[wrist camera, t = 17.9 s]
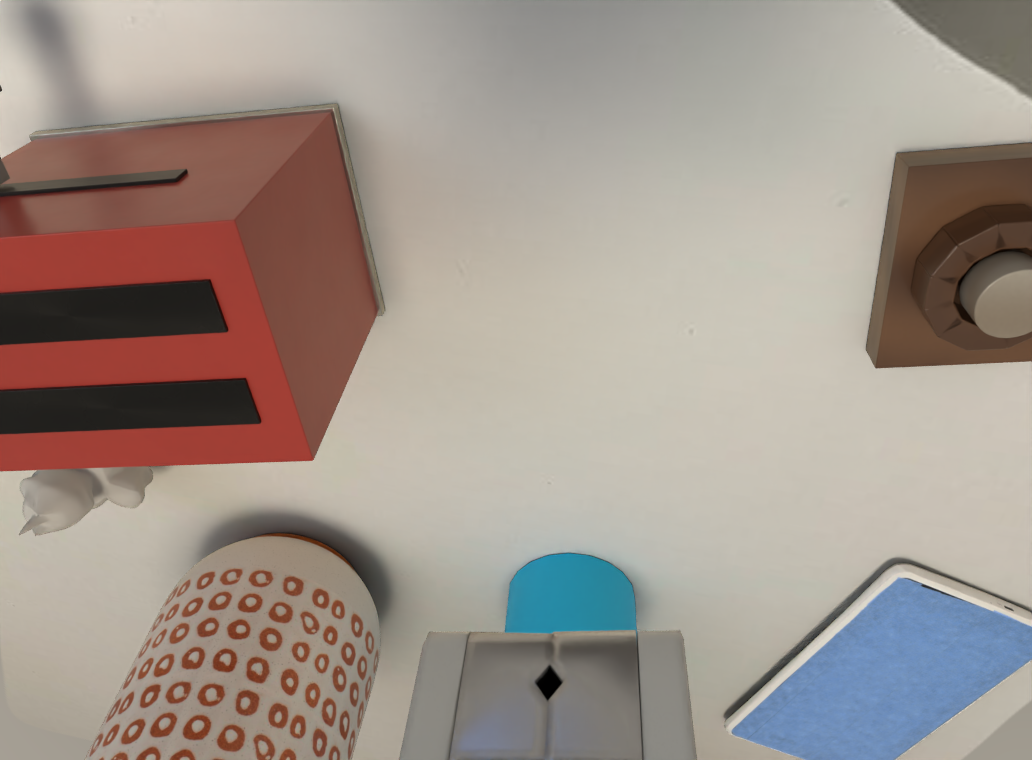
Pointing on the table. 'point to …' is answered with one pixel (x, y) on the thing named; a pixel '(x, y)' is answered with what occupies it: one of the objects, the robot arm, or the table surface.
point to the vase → (251, 660)
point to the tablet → (889, 670)
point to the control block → (947, 253)
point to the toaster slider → (3, 168)
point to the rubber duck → (78, 494)
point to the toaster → (180, 290)
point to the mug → (570, 596)
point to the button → (1000, 294)
